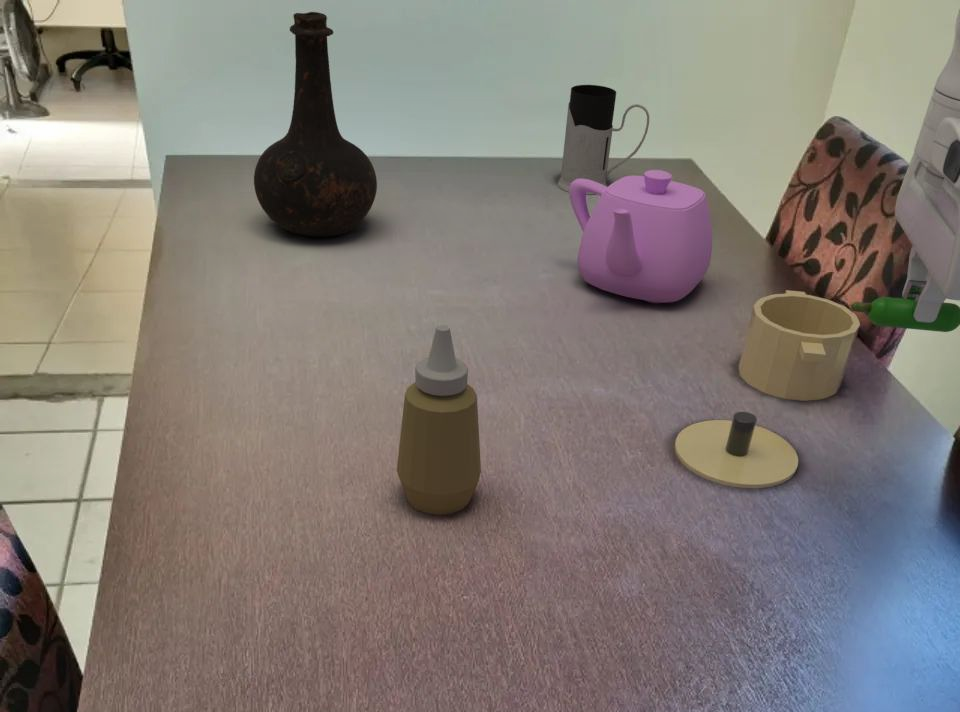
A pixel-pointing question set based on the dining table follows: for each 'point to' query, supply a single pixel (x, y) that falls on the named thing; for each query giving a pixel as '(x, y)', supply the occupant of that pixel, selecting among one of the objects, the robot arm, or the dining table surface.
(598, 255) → the teapot
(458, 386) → the squeeze bottle
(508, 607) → the dining table surface
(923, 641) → the dining table surface
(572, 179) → the glass holder
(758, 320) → the pot
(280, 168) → the glass bottle
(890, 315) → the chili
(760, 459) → the lid
